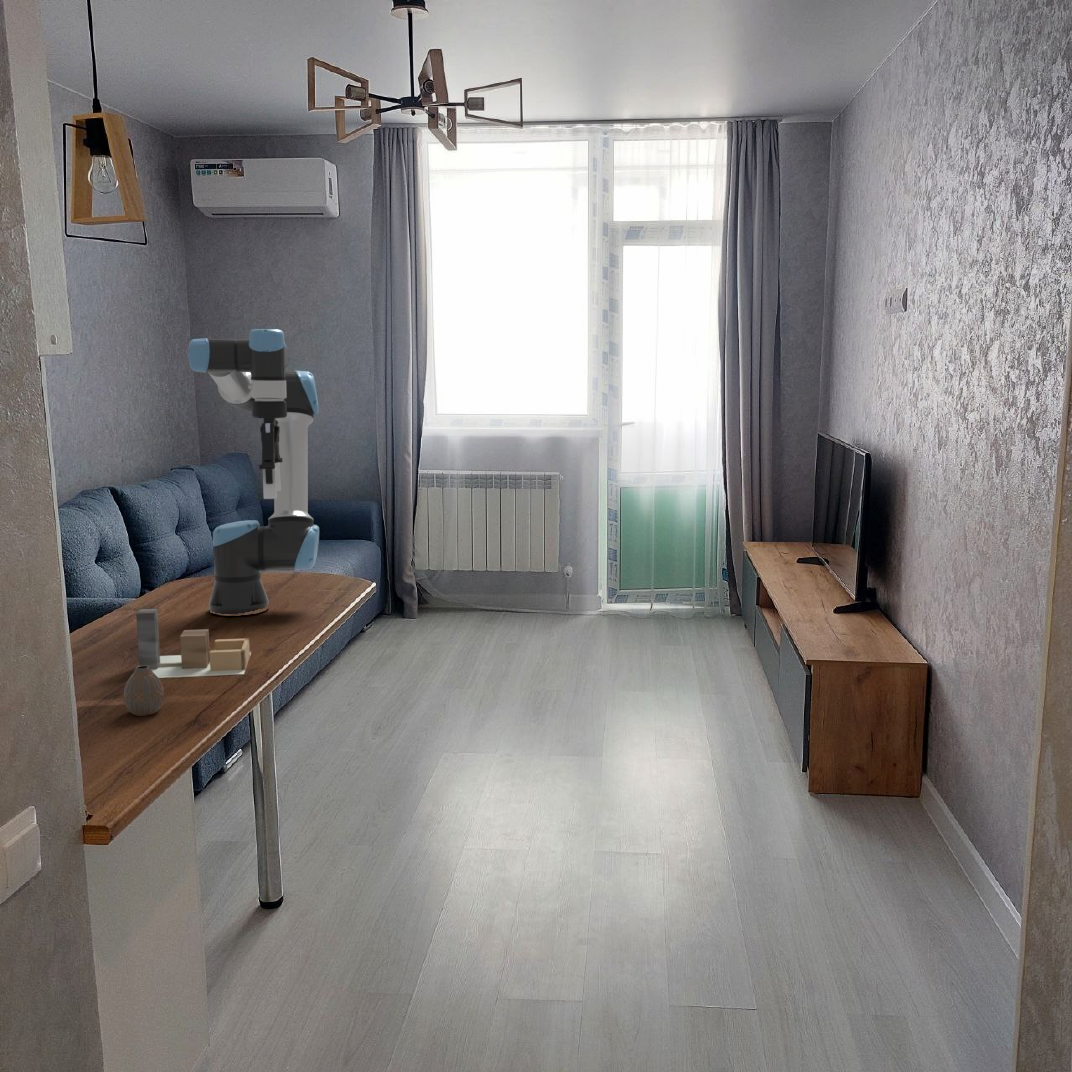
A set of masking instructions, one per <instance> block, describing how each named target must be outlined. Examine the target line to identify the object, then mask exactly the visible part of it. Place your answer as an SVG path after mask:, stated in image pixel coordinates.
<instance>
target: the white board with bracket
mask: <svg viewBox="0 0 1072 1072" xmlns="http://www.w3.org/2000/svg"><path fill="white" fill-rule="evenodd" d="M250 648H251V647H250V638H249V637H247V638H228V639H226V638H223V639H222V638H221V639H215V640H214V650H213V649H212V650H210V662H209V664H208V667H207V668H192V669H182V666H172V667H158V669H151V670H152V672H153V673H154V674H155V675H156V676H157V677H158V678H159V679H165V678H166V679H167V678H171V679H172V678H189V677H211V676H232V675H233V676H235V675H245V672H246V670H247V667H248V662H249V661H250V657H251V655H252V651H250V650H251V649H250ZM176 662H181V654H177V655H160V663H176Z"/></svg>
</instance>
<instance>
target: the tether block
mask: <svg viewBox="0 0 1072 1072" xmlns="http://www.w3.org/2000/svg"><path fill="white" fill-rule="evenodd" d="M135 615H136V631H137V649H138V652H137V653H138V666H141V665H148V666H149V667H150V669H158V667H172V666H182V669H192V668H207V667H208V664H209V662H210V651H211V650H210V634H209V633H210V632H209V631H210V630H209V628H208V629H207V628H206V629H205V628H204V629H203V628H202V629H185V630H184V629H183V631H182V633H181V634H180V636H179V639H180V640H179V641H180V655H181V662H176V663H160V656H161V651H160V637H159V636H160V635H159V634H160V633H159V632H160V631H159V618H158V608H151V609H150V608H145V609H143V608H141V609H139V610H138V611H137V612H136V614H135Z"/></svg>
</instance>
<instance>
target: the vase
mask: <svg viewBox="0 0 1072 1072" xmlns="http://www.w3.org/2000/svg"><path fill="white" fill-rule="evenodd" d="M164 689H165V688H164V685H163V683H162V680H161V678H158V677H157V676H156V675H155V674H154V673H153V672H152V670H151V669H150V667H149V666H148V665H141V666H139V665H138V666H136V667H135V668H134V671H133V673H132V674H131V675H130V676H129V678H128V680H127V681H126V683H125V686H124V690H123V700H124V704H125V706H126V708H127V710H128V711H129V713H131V714H132V715H134V716H136V717H145V716H150V715H154V714H156V713H157V712H158V711H159V710H160V709H161V707H162V705H163V703H164V700H165V699H164V698H165V690H164Z"/></svg>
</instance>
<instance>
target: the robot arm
mask: <svg viewBox="0 0 1072 1072" xmlns="http://www.w3.org/2000/svg"><path fill="white" fill-rule="evenodd" d="M187 350H188V351H187V355H188V364H189V367H190V369H191V371H193V372H196V373H203V374H205V373H208V375H209V376H210V377H211V378H212V380H213V381H214V382H215V384H216V385H217V392H218V393H219V395H220V397H221V398H222V399H223V400H224V401H225V402H226V403H227V404H229V405H231V406H232V407H234V408H235V409H238V410H241V411H243V412H246V413H250V414H251V416H252V418H254V419H263V422H262V423H261V426H260V427H259V428H260V429H259V430H260V436H261V437H260V441H261V464H258V466H259V467H258V468H259V470H262V486H263V487H262V489H263V492H262V493H263V499H264V500H272V499H273V501H274V505H273V507H274V508H273V510H274V512H273V514H272V515H271V516H270V517H268V520H267V521H268V523H267V524H268V525H266V526H260V523H259V520H255V519H253V520H250V519H249V520H239V521H234V522H228V523H225V524H221V525H219V526H217V527H215V529H214V530H213V532H212V545H211V547H212V553H213V555H212V556H213V568H214V569H213V572H214V575H213V577H214V584H213V588H212V591H211V594H210V598H209V601H208V610H209V609H210V611H212V612H215V613H221V614H238V613H245V612H250V611H255V610H258V609H263V608H265V607H267V606H268V604H269V605H270V603H269V598H268V595H267V593H266V590H265V588H264V585H263V582H262V578H261V577H262V576H261V575H262V572H263V571H264V572H265V571H268V572H269V571H294V572H297V571H303V570H304V571H305V570H310V569H312V568H313V567H315V564H316V560H317V557H318V550H319V541H320V527H319V526H318V525H317V524H314V523H315V522H314V518H313V516H311V515H310V514H309V513H308V511H309V510H308V506H309V505H308V503H309V502H308V501H309V497H308V496H309V495H308V494H309V492H308V491H309V490H308V487H309V484H308V482H309V481H308V480H309V478H308V477H309V475H308V474H309V473H308V472H309V470H308V469H309V467H308V465H309V462H308V461H309V458H308V457H309V456H308V455H309V454H308V453H309V451H308V450H309V449H308V447H309V446H308V444H309V441H308V439H309V437H308V436H309V435H308V432H309V431H308V430H309V426H311V424H313V422H314V416H316V415H318V414H320V411H319V410H320V409H319V401H318V394H317V388H316V386H317V385H316V381H315V376H314V374H313V373H312V372H310V371H305V370H297V369H295V370H286V368H287V367H288V366H289V364H290V362H291V353H290V350H289V348H288V346H287V345H286V341H285V333H284V331H283V330H281V329H273V328H270V329H269V328H266V329H265V328H255V329H254V328H253V329H251V330H250V331H249V338H246V339H245V338H237V339H236V338H207V337H204V338H193V339H191V340H190V341H189V344H188V349H187Z"/></svg>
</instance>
